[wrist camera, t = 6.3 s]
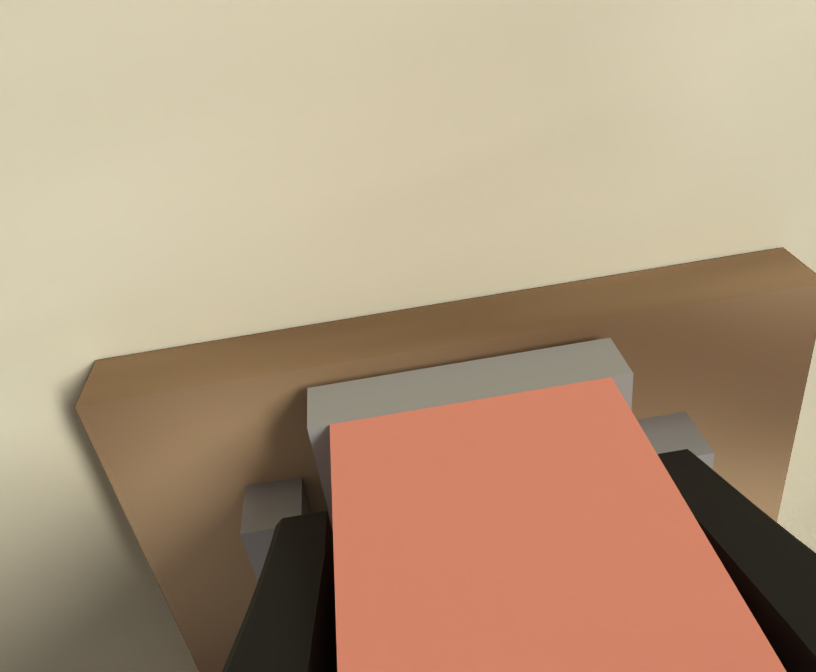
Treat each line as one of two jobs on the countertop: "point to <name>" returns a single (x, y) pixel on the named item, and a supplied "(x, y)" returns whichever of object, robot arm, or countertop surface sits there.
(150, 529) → the cracker bench
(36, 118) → the countertop surface
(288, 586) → the robot arm
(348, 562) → the block
